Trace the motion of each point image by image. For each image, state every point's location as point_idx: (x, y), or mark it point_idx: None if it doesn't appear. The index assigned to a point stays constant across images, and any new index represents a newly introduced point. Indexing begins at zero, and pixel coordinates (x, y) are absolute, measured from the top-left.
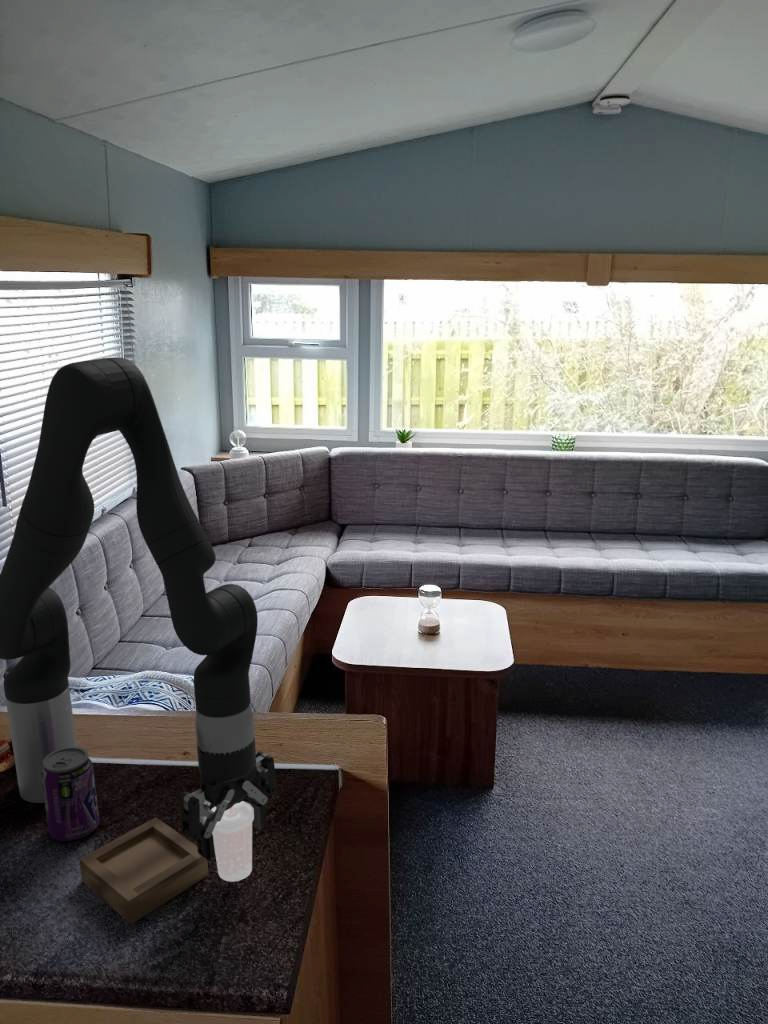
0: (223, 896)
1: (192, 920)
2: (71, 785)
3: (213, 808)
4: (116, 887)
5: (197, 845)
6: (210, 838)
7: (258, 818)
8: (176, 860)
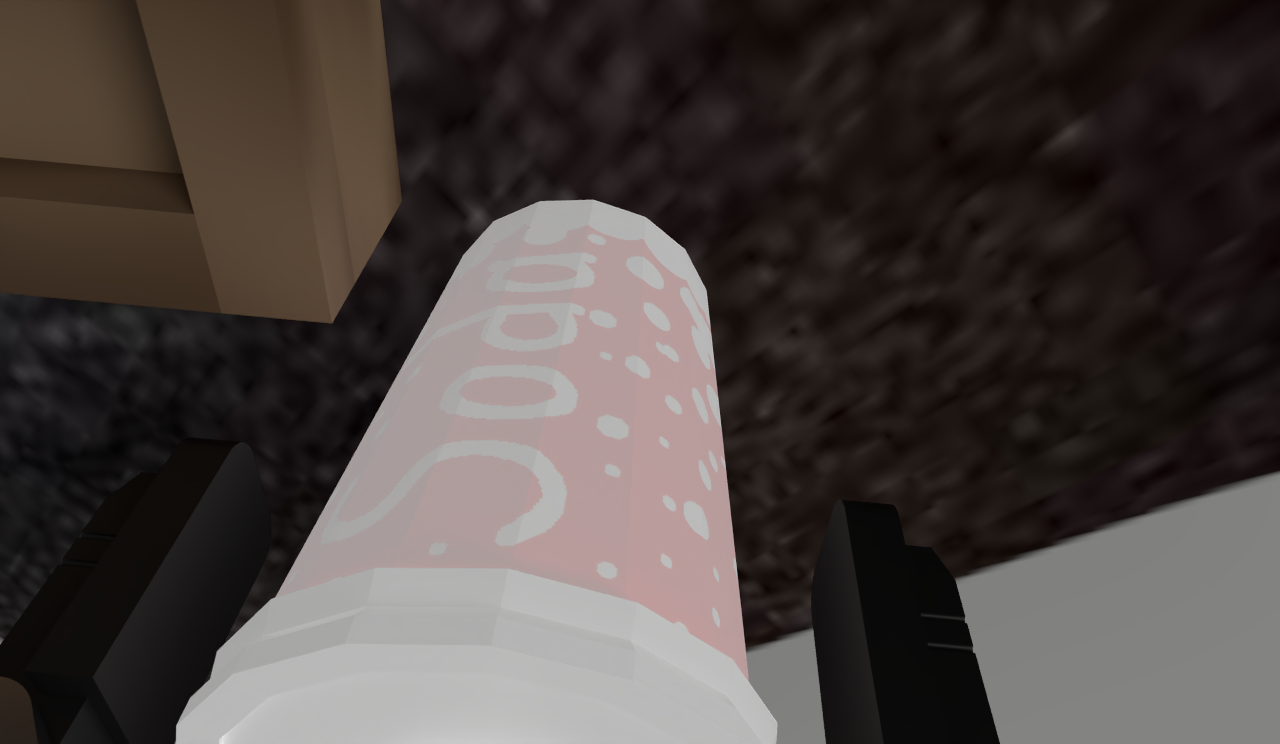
0: (366, 410)
1: (111, 403)
2: None
3: (366, 654)
4: None
5: (64, 563)
6: None
7: (828, 679)
8: (92, 53)
